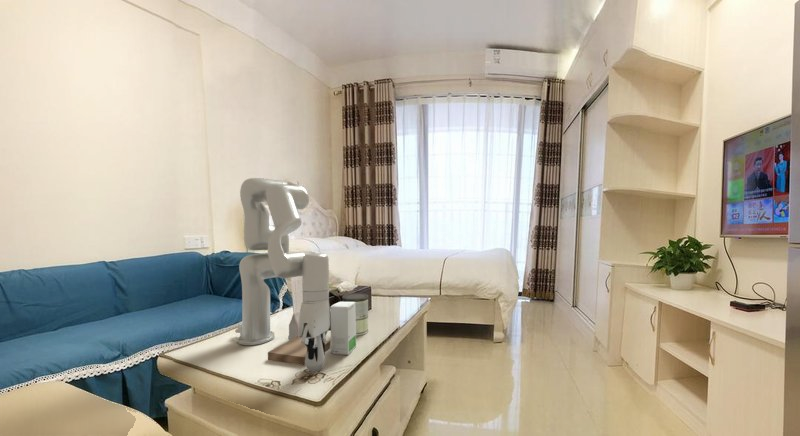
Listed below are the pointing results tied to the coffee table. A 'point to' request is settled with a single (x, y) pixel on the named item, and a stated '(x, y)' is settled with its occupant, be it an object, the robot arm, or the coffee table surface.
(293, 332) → the tea bag
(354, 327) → the skincare box
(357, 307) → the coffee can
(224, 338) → the coffee table surface
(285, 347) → the walnut slab
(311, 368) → the salt shaker
